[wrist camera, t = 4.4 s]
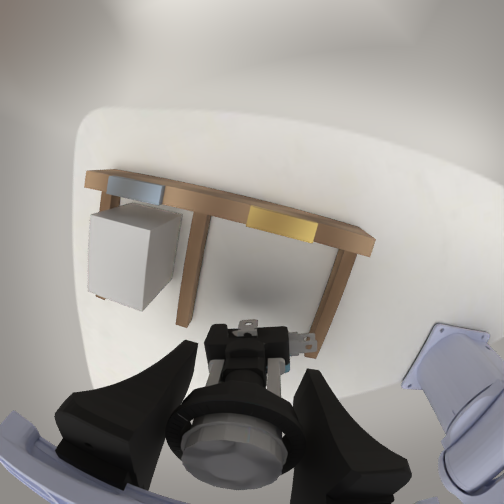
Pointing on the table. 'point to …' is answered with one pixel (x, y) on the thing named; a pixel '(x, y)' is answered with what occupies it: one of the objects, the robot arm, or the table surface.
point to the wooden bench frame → (242, 211)
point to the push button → (241, 409)
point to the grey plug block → (132, 253)
